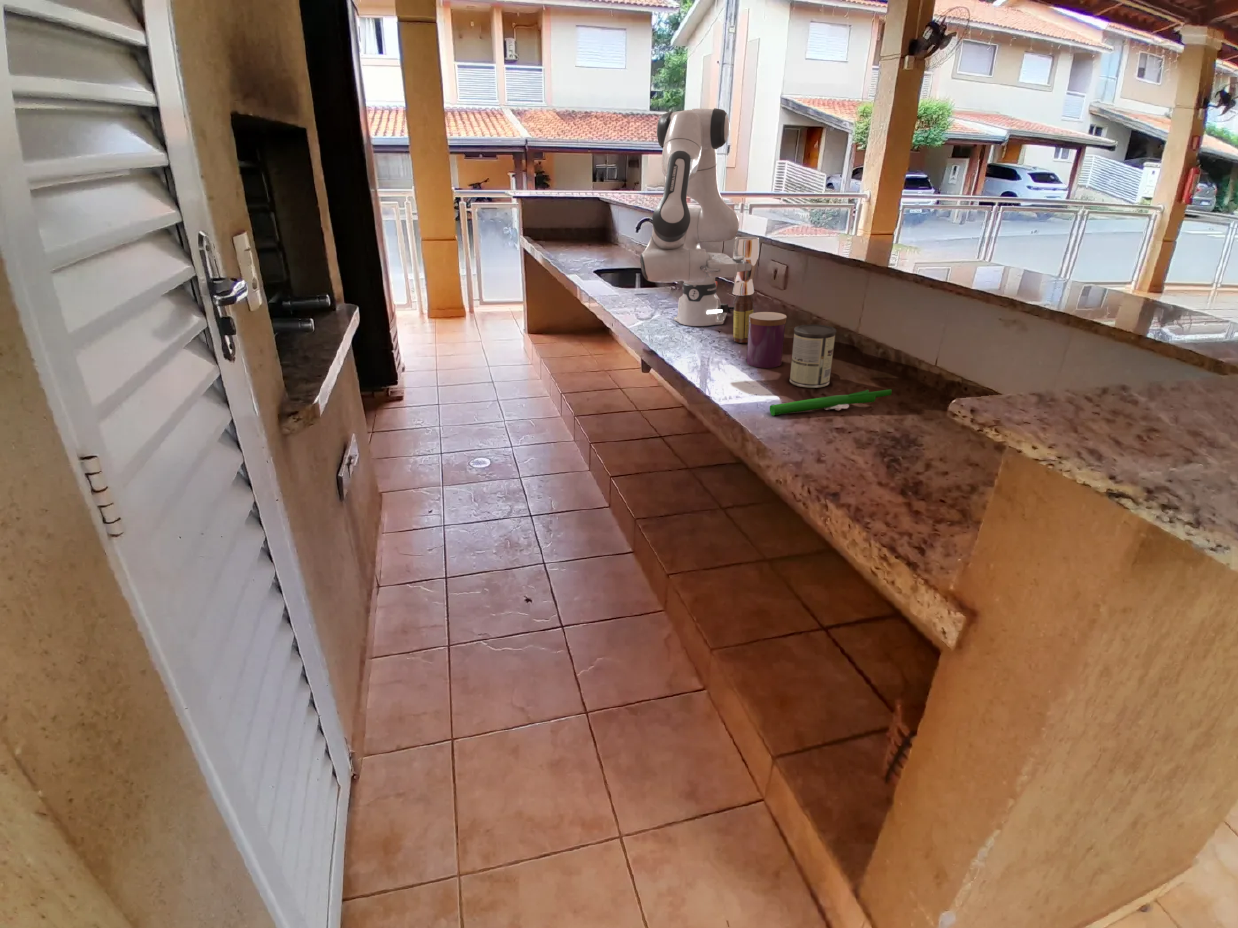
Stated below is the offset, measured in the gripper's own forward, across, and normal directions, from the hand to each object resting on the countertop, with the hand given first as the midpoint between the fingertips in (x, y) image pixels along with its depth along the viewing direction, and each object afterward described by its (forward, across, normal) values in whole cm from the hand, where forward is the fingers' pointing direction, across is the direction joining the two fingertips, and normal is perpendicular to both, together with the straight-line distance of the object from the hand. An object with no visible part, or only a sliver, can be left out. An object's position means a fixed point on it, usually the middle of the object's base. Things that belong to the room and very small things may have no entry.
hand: (748, 264), depth 172 cm
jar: (+6, -5, +27) cm, 28 cm away
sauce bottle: (+4, +19, +27) cm, 33 cm away
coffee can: (+14, -23, +27) cm, 38 cm away
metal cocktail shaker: (-1, 0, +8) cm, 8 cm away
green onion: (+13, -43, +27) cm, 52 cm away
